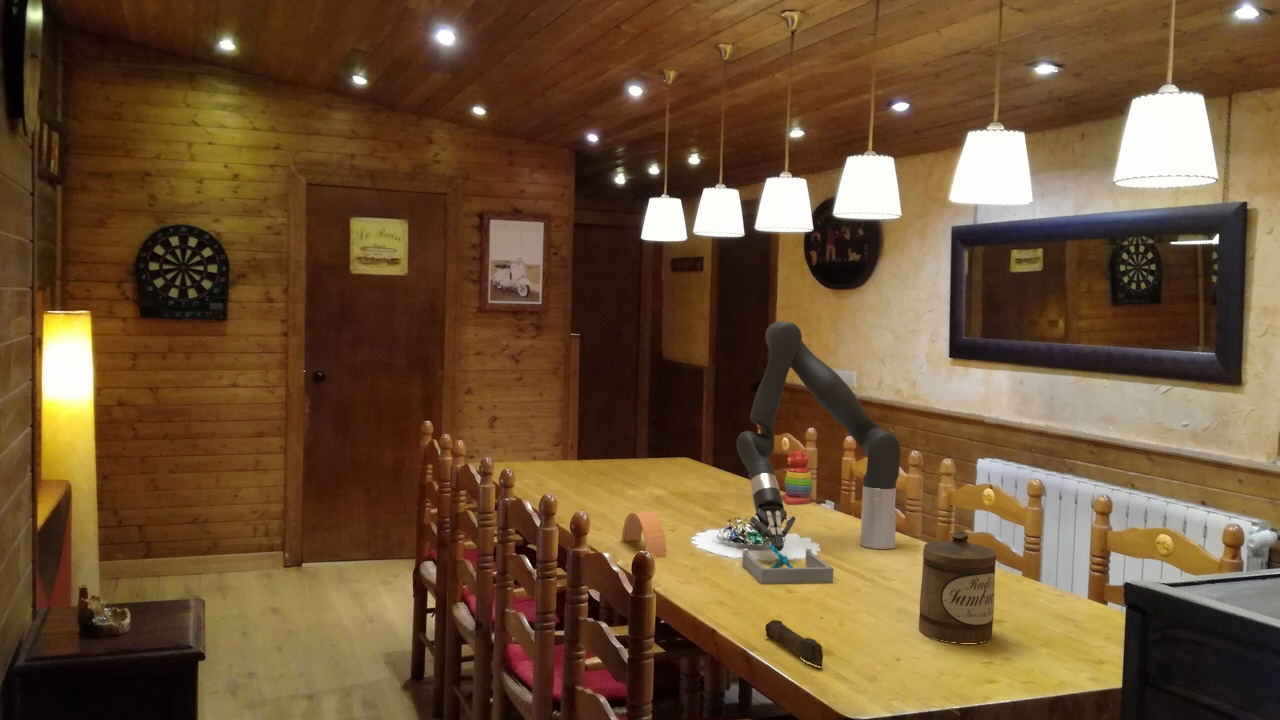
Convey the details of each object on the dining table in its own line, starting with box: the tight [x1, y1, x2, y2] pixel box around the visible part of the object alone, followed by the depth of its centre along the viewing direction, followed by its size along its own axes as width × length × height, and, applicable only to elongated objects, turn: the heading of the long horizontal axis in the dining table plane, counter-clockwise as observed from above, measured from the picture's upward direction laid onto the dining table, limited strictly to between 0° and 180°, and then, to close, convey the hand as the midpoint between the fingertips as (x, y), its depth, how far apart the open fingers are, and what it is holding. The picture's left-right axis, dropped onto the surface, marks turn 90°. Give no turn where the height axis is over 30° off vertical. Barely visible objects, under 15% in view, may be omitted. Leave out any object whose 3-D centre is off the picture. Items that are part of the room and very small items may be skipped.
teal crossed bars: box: [769, 543, 794, 568], centre depth 253 cm, size 11×6×10 cm
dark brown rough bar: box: [765, 619, 824, 667], centre depth 196 cm, size 19×4×5 cm, turn 18°
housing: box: [741, 547, 834, 585], centre depth 253 cm, size 17×18×4 cm
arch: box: [621, 511, 667, 559], centre depth 274 cm, size 6×20×10 cm, turn 20°
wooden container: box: [918, 529, 997, 643], centre depth 210 cm, size 15×15×22 cm
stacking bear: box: [781, 449, 813, 506], centre depth 346 cm, size 11×10×18 cm
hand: (778, 549), depth 260 cm, fingers closed
